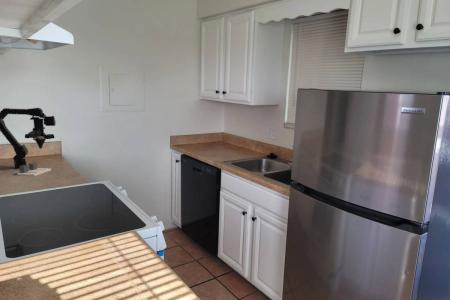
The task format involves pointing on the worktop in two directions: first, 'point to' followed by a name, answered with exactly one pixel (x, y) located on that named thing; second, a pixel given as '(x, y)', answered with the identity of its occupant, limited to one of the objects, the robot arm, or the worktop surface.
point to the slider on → (33, 165)
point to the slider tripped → (24, 168)
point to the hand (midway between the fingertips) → (40, 148)
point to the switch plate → (34, 172)
